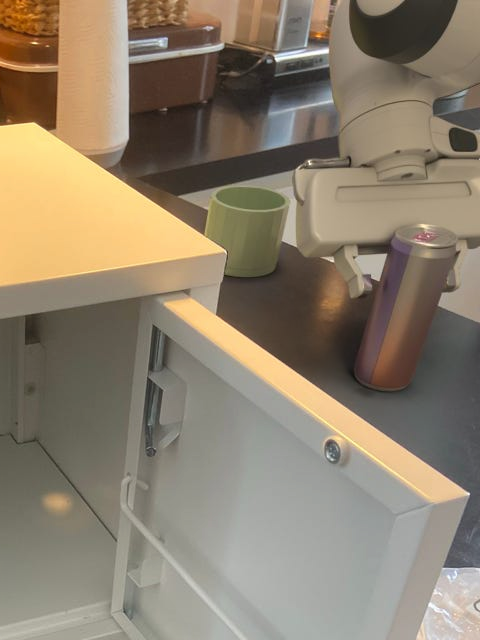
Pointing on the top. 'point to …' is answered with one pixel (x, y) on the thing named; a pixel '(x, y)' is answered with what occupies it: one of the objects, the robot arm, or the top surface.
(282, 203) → the tumbler
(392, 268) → the beverage can
